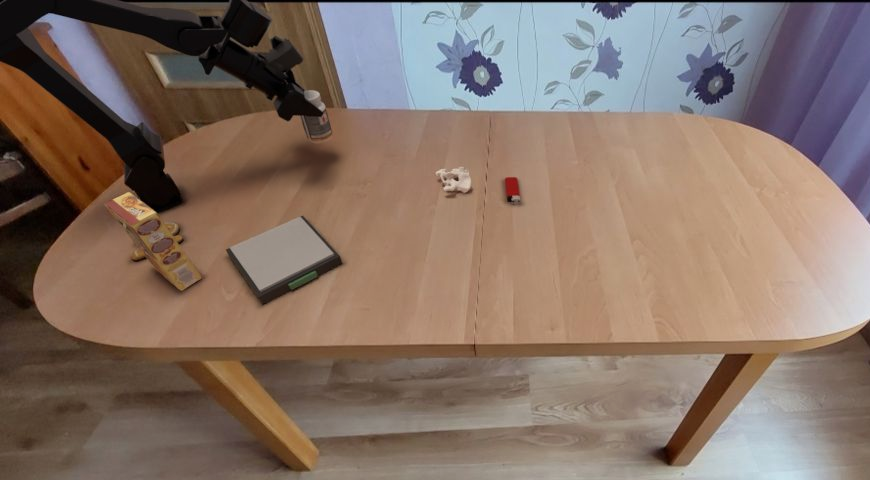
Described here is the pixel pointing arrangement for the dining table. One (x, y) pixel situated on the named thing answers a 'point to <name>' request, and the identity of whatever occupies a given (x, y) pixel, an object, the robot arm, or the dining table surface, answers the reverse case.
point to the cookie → (174, 230)
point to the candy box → (153, 239)
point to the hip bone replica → (460, 185)
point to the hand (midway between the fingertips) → (318, 108)
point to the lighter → (512, 190)
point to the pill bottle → (316, 120)
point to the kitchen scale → (283, 258)
